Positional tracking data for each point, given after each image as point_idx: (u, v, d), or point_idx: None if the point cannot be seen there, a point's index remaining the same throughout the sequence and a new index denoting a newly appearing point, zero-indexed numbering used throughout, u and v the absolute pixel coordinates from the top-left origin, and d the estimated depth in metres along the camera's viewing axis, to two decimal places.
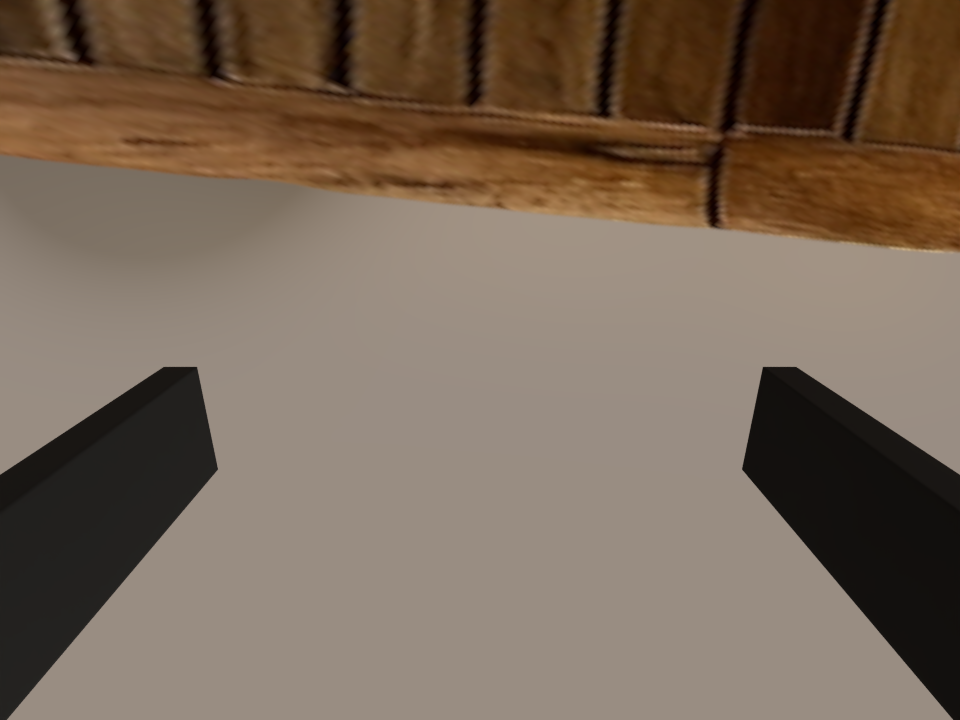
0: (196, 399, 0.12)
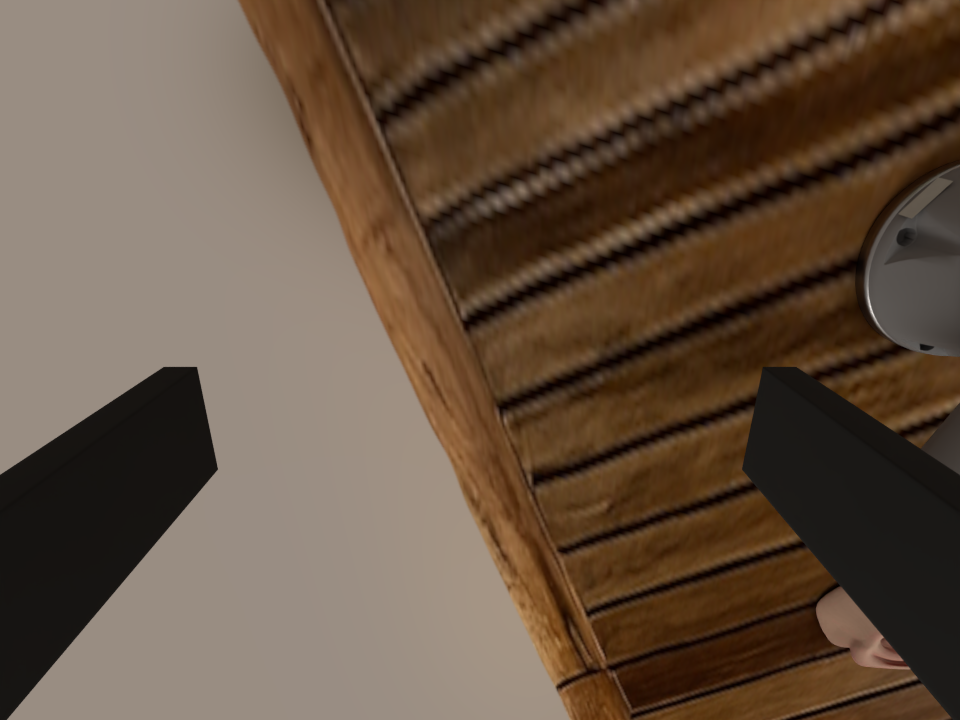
0: (196, 399, 0.12)
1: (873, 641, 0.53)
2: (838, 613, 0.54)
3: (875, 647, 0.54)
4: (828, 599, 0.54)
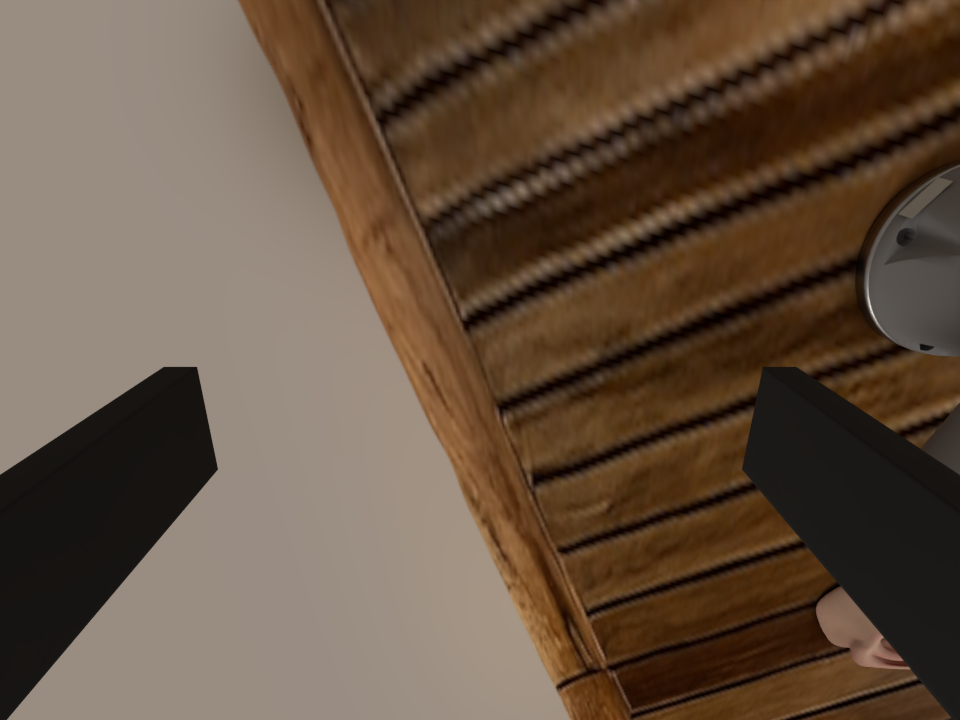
0: (196, 399, 0.12)
1: (873, 641, 0.53)
2: (838, 613, 0.54)
3: (875, 647, 0.54)
4: (828, 599, 0.54)
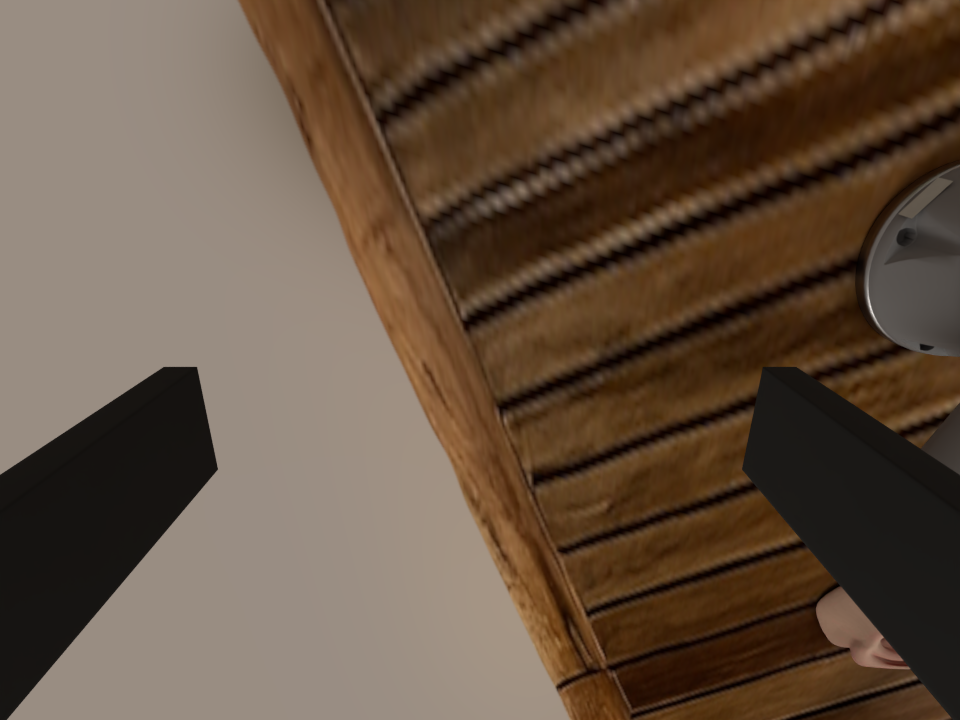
0: (196, 399, 0.12)
1: (873, 641, 0.53)
2: (838, 613, 0.54)
3: (875, 647, 0.54)
4: (828, 599, 0.54)
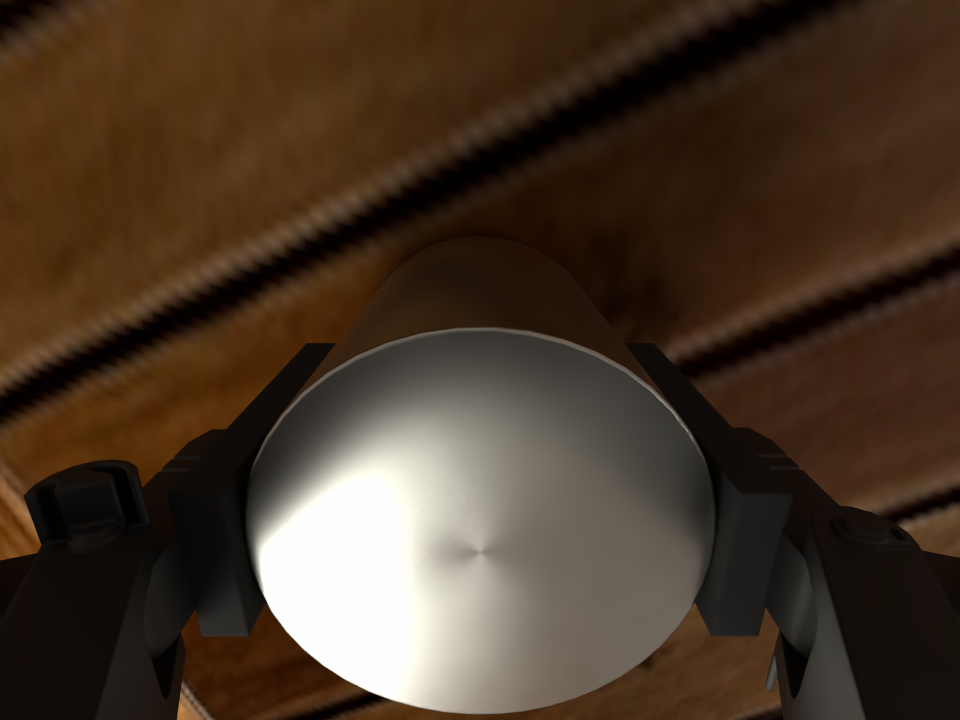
0: None
1: None
2: None
3: None
4: None
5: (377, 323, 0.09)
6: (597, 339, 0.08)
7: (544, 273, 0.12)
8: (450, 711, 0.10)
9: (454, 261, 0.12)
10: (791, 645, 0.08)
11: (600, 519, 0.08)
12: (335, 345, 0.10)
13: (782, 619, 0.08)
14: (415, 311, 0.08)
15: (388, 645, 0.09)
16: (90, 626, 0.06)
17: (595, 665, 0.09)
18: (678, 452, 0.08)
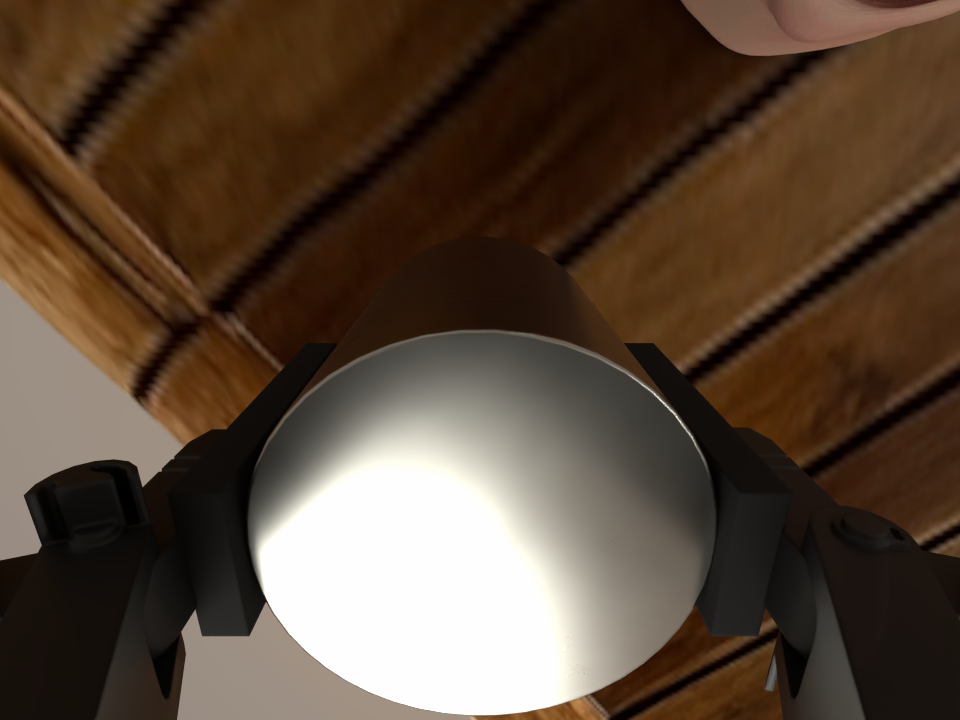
0: None
1: None
2: None
3: None
4: None
5: (379, 325, 0.09)
6: (598, 341, 0.08)
7: (545, 274, 0.12)
8: (451, 712, 0.10)
9: (455, 262, 0.12)
10: (791, 645, 0.08)
11: (601, 521, 0.08)
12: (336, 347, 0.10)
13: (782, 619, 0.08)
14: (417, 313, 0.08)
15: (390, 646, 0.09)
16: (91, 626, 0.06)
17: (597, 666, 0.09)
18: (679, 454, 0.08)
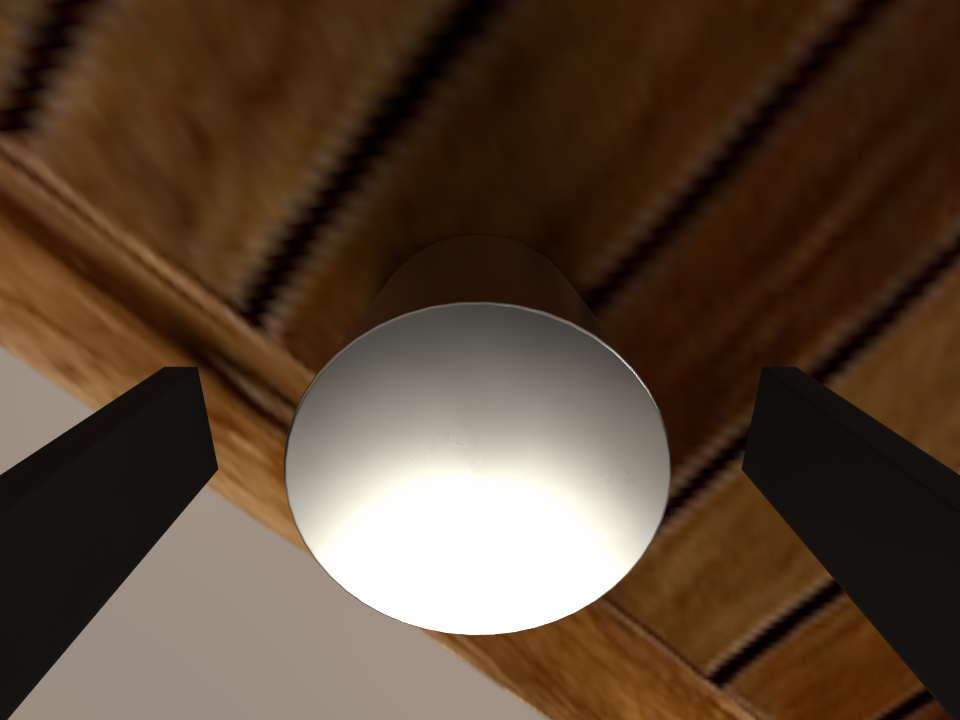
0: (197, 399, 0.12)
1: None
2: None
3: None
4: None
5: (393, 302, 0.10)
6: (573, 314, 0.10)
7: (533, 265, 0.14)
8: (453, 632, 0.11)
9: (455, 254, 0.14)
10: None
11: (576, 462, 0.10)
12: (355, 324, 0.12)
13: None
14: (424, 292, 0.10)
15: (401, 572, 0.11)
16: None
17: (574, 590, 0.11)
18: (638, 404, 0.09)
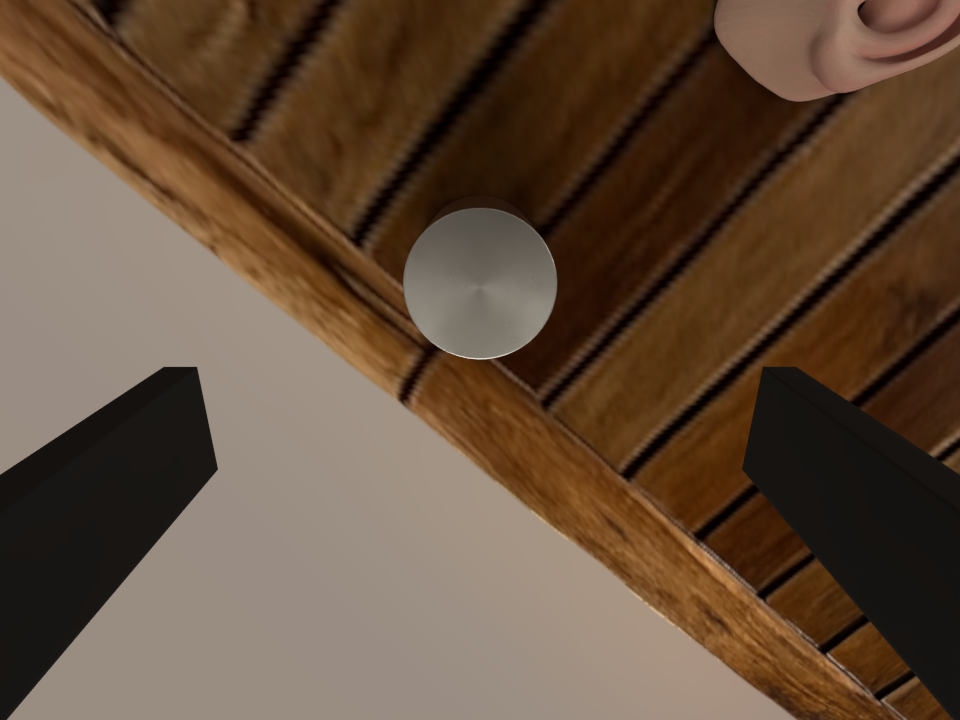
0: (197, 399, 0.12)
1: (836, 12, 0.26)
2: (753, 9, 0.28)
3: (850, 27, 0.27)
4: None
5: (445, 213, 0.26)
6: (517, 215, 0.25)
7: (506, 205, 0.29)
8: (469, 357, 0.27)
9: (469, 200, 0.29)
10: None
11: (518, 274, 0.25)
12: (427, 226, 0.27)
13: None
14: (459, 208, 0.25)
15: (448, 326, 0.26)
16: None
17: (520, 335, 0.26)
18: (541, 249, 0.25)
